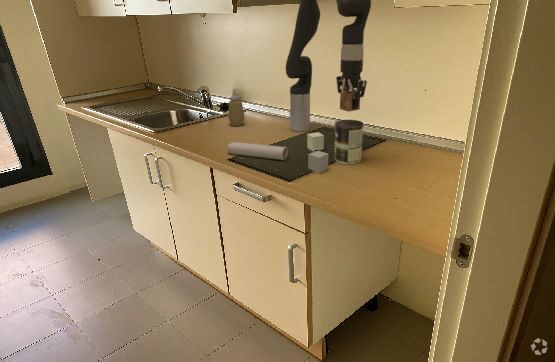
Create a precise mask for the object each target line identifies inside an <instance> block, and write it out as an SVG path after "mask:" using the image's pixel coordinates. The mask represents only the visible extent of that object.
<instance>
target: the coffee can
mask: <svg viewBox="0 0 555 362" xmlns="http://www.w3.org/2000/svg"><path fill="white" fill-rule="evenodd" d="M363 131H364V122H363V121H361V120H356V119H340V120H337V121H335V123H334V154H333V155H334V156H333V160H334V159H335V160H336V161H335V160H334V161H335V162H336V163H339V164H342V165H354V164H355V165H356V164H358V163H360V162H361V161H362V149H363V147H362V146H363V135H364V133H363Z"/></svg>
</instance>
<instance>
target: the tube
mask: <svg viewBox="0 0 555 362" xmlns="http://www.w3.org/2000/svg"><path fill="white" fill-rule="evenodd" d="M227 152H228V153H229V154H230V155H234V156H242V157H243V156H244V157H250V158H251V157H253V158H262V159H270V160H278V161H283V160H284V159H283V158H286V159H287V157H288V148H287V146H278V145H270V144H269V145H267V144H259V143H258V144H257V143H247V142H237V141H232V142H231V143H228V145H227ZM284 161H285V160H284Z"/></svg>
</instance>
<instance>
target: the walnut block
mask: <svg viewBox="0 0 555 362" xmlns="http://www.w3.org/2000/svg"><path fill="white" fill-rule="evenodd" d="M356 94H357V93H356V92H355V95H356ZM360 94H361V92H360ZM352 99H353V97H352V93H351V92H350V90H349V91H346V90H345V92H340V93H339V109H340V110H342V111H346V112H353V111H359V110H360V109H361V98H359V106H358V109H352Z"/></svg>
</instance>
